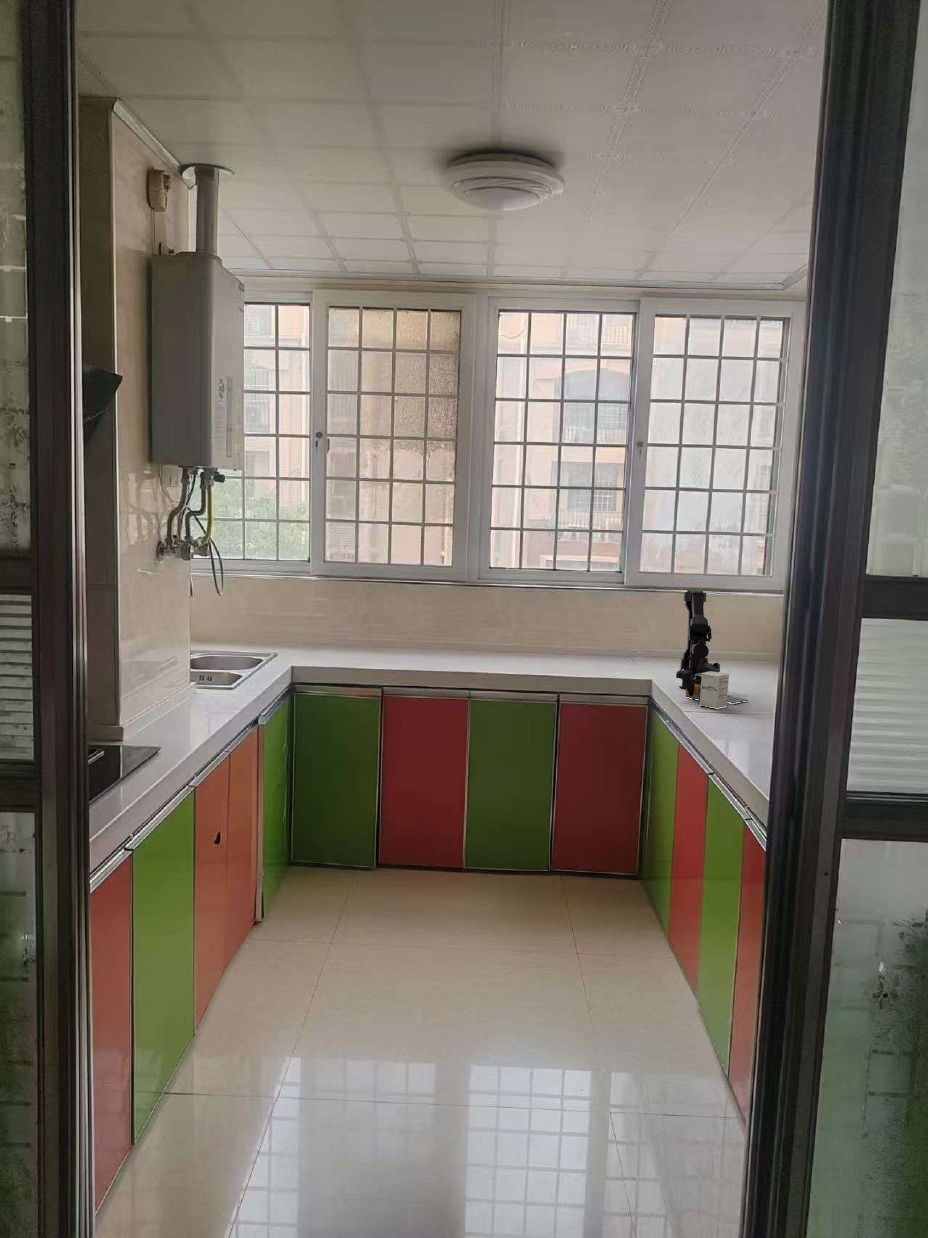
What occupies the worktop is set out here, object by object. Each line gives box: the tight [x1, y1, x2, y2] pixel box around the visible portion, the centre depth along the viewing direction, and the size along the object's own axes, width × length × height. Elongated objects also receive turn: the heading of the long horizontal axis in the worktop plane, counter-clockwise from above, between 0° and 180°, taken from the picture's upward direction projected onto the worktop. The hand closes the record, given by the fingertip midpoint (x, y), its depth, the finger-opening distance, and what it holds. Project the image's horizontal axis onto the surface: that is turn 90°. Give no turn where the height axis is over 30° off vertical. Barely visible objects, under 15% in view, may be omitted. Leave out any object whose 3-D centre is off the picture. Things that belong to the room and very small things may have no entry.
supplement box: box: [699, 671, 730, 708], centre depth 354 cm, size 7×7×13 cm
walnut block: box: [685, 684, 701, 700], centre depth 369 cm, size 5×5×5 cm
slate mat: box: [727, 695, 749, 703], centre depth 366 cm, size 10×9×1 cm
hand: (695, 695), depth 370 cm, fingers closed on walnut block, 5 cm apart
